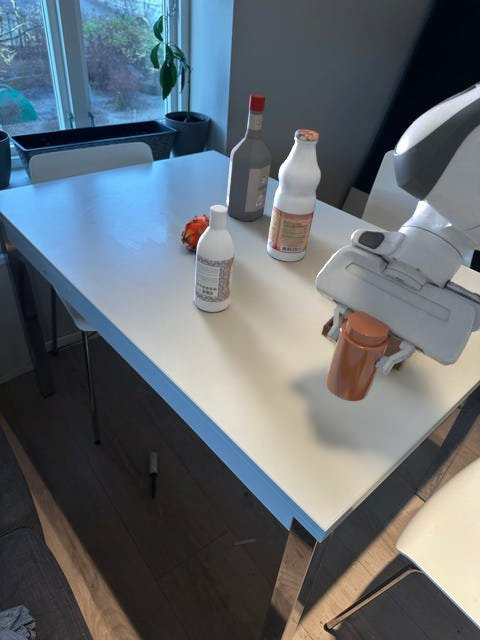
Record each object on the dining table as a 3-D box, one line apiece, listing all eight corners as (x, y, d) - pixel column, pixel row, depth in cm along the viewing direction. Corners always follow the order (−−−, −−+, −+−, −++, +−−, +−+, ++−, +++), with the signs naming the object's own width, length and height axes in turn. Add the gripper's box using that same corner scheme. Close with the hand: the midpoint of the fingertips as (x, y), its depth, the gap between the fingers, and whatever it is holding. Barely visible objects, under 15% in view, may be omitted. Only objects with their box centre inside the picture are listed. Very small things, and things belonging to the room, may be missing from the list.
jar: (376, 383, 62) (400, 322, 55) (359, 408, 58) (382, 346, 51) (336, 363, 64) (355, 303, 58) (317, 386, 60) (335, 324, 54)
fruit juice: (258, 249, 108) (275, 128, 92) (284, 240, 114) (304, 124, 97) (286, 266, 103) (310, 141, 86) (312, 255, 109) (339, 136, 92)
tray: (421, 335, 87) (424, 327, 86) (398, 371, 78) (402, 362, 77) (349, 304, 93) (352, 296, 92) (321, 334, 84) (323, 325, 83)
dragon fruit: (222, 246, 111) (186, 267, 105) (202, 218, 111) (164, 237, 105) (236, 230, 104) (198, 251, 98) (215, 200, 104) (176, 219, 98)
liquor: (266, 213, 126) (283, 97, 108) (249, 224, 119) (265, 102, 101) (239, 204, 129) (251, 90, 111) (221, 213, 123) (231, 94, 105)
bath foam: (229, 314, 86) (240, 218, 74) (193, 312, 86) (198, 215, 74) (228, 293, 92) (238, 201, 80) (194, 292, 91) (199, 198, 79)
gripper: (496, 312, 54) (432, 405, 54) (356, 245, 65) (302, 323, 65) (500, 293, 49) (428, 397, 49) (346, 224, 60) (287, 309, 60)
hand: (355, 354), depth 57 cm, fingers closed on jar, 6 cm apart
